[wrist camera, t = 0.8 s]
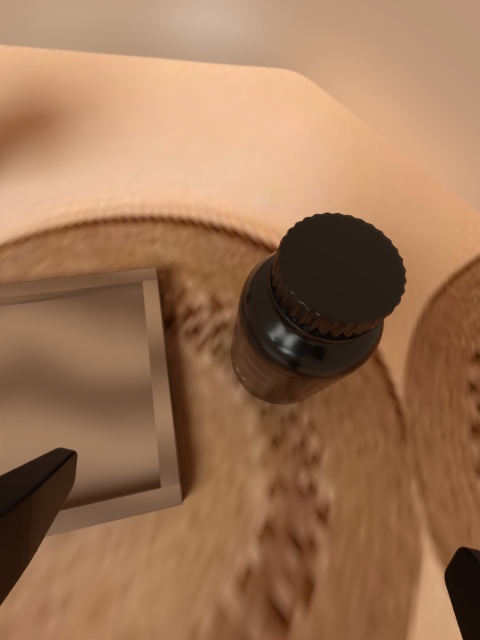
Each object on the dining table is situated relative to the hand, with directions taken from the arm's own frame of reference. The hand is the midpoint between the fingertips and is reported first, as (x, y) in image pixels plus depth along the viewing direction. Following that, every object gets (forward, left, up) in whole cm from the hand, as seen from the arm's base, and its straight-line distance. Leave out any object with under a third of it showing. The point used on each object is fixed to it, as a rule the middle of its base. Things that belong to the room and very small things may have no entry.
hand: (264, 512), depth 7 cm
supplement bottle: (+7, -5, -13) cm, 15 cm away
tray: (+7, +10, -13) cm, 18 cm away
